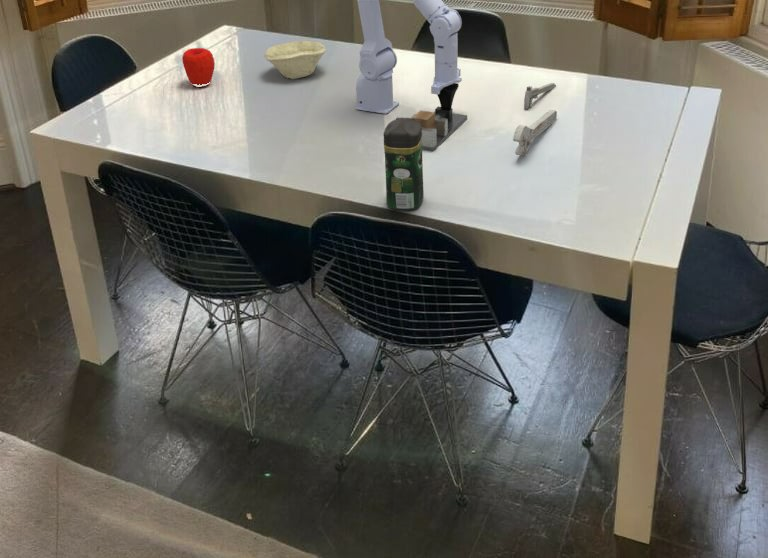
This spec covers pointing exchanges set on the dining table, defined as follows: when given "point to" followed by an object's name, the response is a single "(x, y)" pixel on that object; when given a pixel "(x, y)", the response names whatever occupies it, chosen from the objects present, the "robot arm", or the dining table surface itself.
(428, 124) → the block
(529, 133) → the wrench
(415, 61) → the dining table surface
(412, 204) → the coffee jar
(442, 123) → the slide jaw
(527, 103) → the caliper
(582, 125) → the dining table surface
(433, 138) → the vise
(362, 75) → the robot arm
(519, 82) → the dining table surface
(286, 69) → the bowl
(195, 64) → the apple
